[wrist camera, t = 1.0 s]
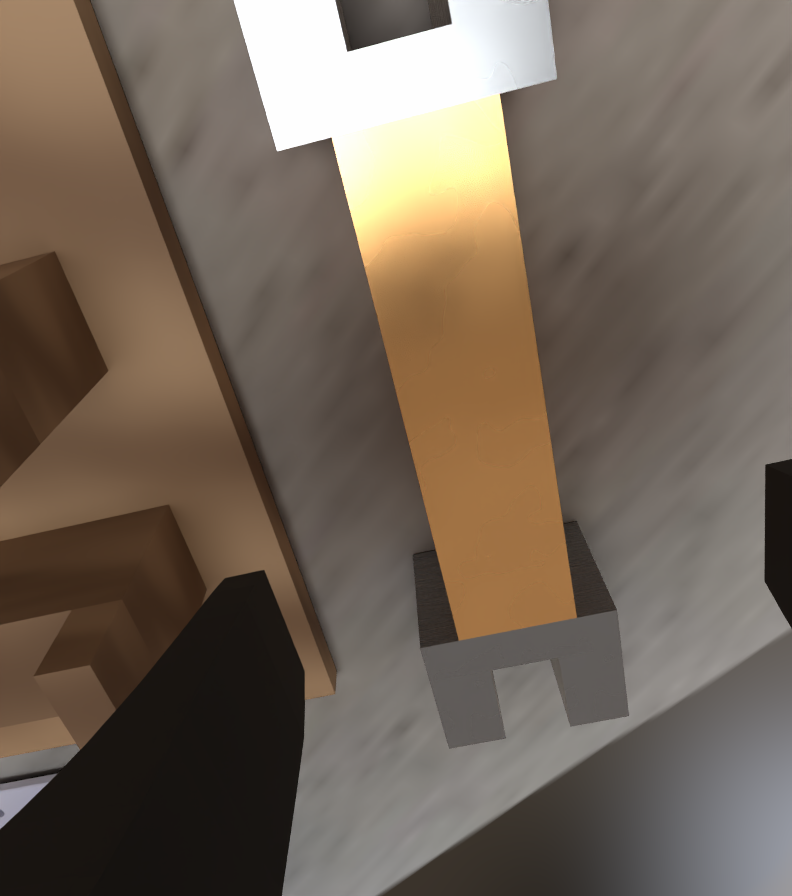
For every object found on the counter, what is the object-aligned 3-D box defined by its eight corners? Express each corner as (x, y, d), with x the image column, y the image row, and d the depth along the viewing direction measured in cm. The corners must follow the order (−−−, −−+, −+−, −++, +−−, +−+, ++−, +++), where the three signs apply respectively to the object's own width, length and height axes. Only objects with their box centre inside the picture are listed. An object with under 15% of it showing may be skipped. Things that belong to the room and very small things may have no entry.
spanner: (589, 617, 23) (628, 715, 19) (437, 646, 23) (449, 748, 20) (486, -132, 14) (524, -206, 10) (245, -62, 14) (202, -110, 11)
